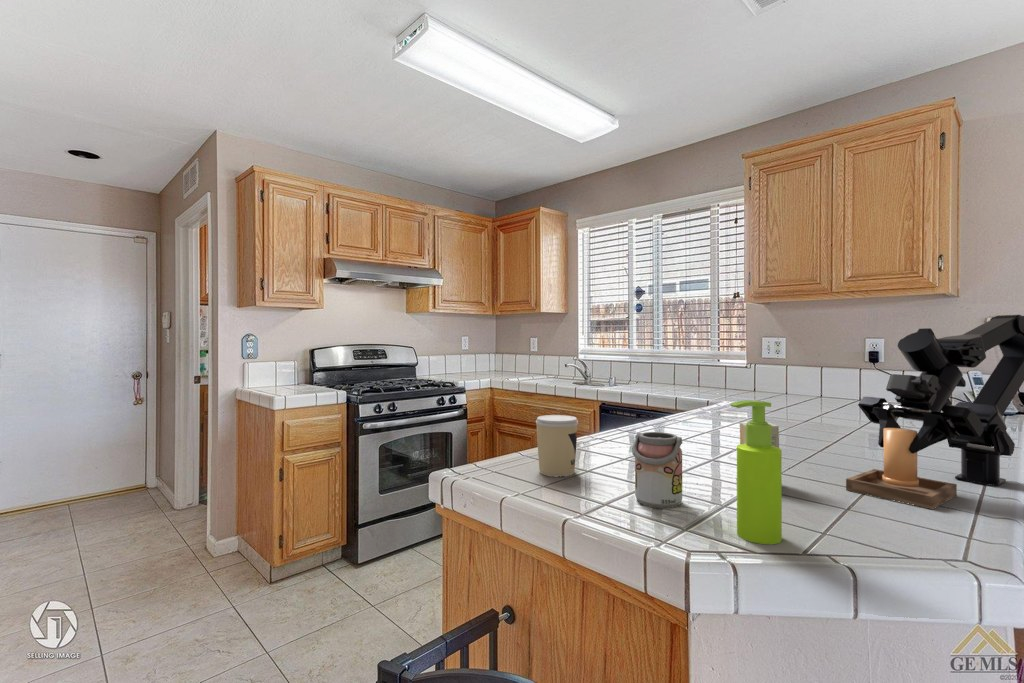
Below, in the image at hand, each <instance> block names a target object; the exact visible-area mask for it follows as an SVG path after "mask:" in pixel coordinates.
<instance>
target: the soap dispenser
mask: <svg viewBox="0 0 1024 683" xmlns="http://www.w3.org/2000/svg"><path fill="white" fill-rule="evenodd" d="M729 405H730V406H731V407H733V408H737V409H741V408H745V407H746V408H747V407H752V408H751V414H752V415H751V418H752V419H751V420H749V421H748V422H745V423H746V444H740V443H739V444H737V445H736V534H737V536H738V537H740V539H743V540H745V541H748V542H749V543H755V544H760V545H776V544H777V545H778V544H780V543H781V542H782V540H783V539H782V538H783V535H782V534H783V533H782V531H783V530H782V526H783V524H782V516H783V515H782V514H783V513H782V508H783V507H782V506H783V505H782V504H783V503H782V502H783V501H782V499H783V498H782V495H783V494H782V493H783V492H782V488H783V487H782V482H783V481H782V449H781V448H780V447H779V448H777V447H774V446H772V426H771V424H768V423H769V422H768V421H766V407H767V408H771V407H772V402H768V401H762V400H750V399H747V400H746V399H745V400H738V401H734V402H731V403H730V404H729Z"/></svg>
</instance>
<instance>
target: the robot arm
mask: <svg viewBox="0 0 1024 683" xmlns="http://www.w3.org/2000/svg"><path fill="white" fill-rule="evenodd" d="M996 346H998V347H999V348H1000V351H1001V354H1002V357H1001V358H1000V360H999V361H998V363H997V365H996V367H995V368H994V369H993V371H992V373H991V374H990V375H989V377H988V379H987V380H986V382H985V383H984V385H983V386H982V388H981V389H980V391H979V392H978V394H977V395H976V397H975V398H974V400H973V401H972V402H964V401H960V402H958V403H956V404H954V405H953V404H952V401H951V399H950V397H951V396H952V394H953V392H954V391H955V389H956V387H958V388H959V387H960V388H965V387H966V386H967V384H966V380H965V379H964V377H963V375H964V374H963V373H962V371H961V370H960V368H970V369H971V368H976V367H978V366H979V365H980V364H981V363H983V361H985V359H987V356H986V353H987V352H988V351H989V350H991V349H993V348H994V347H996ZM897 348H898V350H899V351H900V353H901V355H902V356H903V357H904V358H905V360H906V362H907V363H908V365H910V367H911V368H912V369H913V370H914V371H916V372H920V374H919V376H917V375H912V374H899V373H898V374H897V373H896V374H895V373H891V374H890V376H889V378H888V381H887V385H886V388H885V390H886V391H887V392H890V393H892V394H893V395H895V397H894V399H895V401H896V402H897V404H898V403H899V404H900V405H894V404H892V403H890V402H888V401H887V400H886V398H884V397H874V396H863V397H862V398H861V400H859V402H858V407H859V409H860V410H861V411H862V413H863V414H864V415H865V416H866V418H867V420H869V422H870V423H873V424H878V425H879V428H878V429H879V430H878V432H879V433H878V443H877V444H878V446H879V447H880V448H884V435H883V429H884V428H902V427H901V426H900V424H899V423H898V419H899V418H902V419H904V420H909V421H910V420H911V421H916V422H918V421H919V422H922V426H921V427H920V429H919V431H917V435H916V437H915V438H914V440H913V442H912V443H911V446H910V448H909V451H910V452H911V453H916V452H917V453H918V452H920V451H923V450H924V449H927V448H929V447H931V446H933V445H935V444H938V443H940V442H943V441H945V440H947V443H948V444H947V445H948V447H949V448H956V449H960V453H961V454H960V455H961V456H960V458H961V459H960V465H961V466H960V473H959V474H957V475H954V479H956V480H960V481H967V482H971V483H975V484H983V485H986V486H987V485H989V486H992V487H993V486H994V487H999V486H1001V485H1002V484H1004V483H1006V481H1007V479H1006V478H1002V477H1000V476H1001V474H1000V472H1001V470H1000V469H1001V466H1000V465H1001V463H1000V462H1001V460H1000V459H1001V457H1002V456H1005V457H1006V456H1007V457H1011V456H1012V455H1013V454H1014V451H1015V446H1016V445H1015V442H1014V440H1013V439H1012V437H1011V436H1010V434H1009V433H1008V432H1007V429H1008V428H1007V425H1006V422H1005V420H1004V417H1003V416H1004V414H1005V412H1006V411H1007V410H1008V408H1009V405H1010V404H1011V403H1012V401H1013V400H1014V397H1015V396H1016V395H1017V393H1018V391H1019V390H1020V388H1021V387H1022V386H1023V384H1024V315H1021V314H1006V315H1005V314H1004V315H1003V314H1001V315H996V316H992V317H991V318H990V319H989V320H988V321H986V322H984V323H982V324H981V325H978V326H976V327H974V328H973V329H971V330H969V331H967V332H965V333H962V334H960V335H951V336H950V335H948V336H943V337H940V338H938V337H936V335H935V333H934V331H933V329H932V327H931V328H930V327H929V328H927V327H926V328H918V330H917V332H911V333H910V334H907V335H906V336H905V337H903V338H901V339H899V341H898V343H897Z"/></svg>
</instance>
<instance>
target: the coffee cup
mask: <svg viewBox="0 0 1024 683" xmlns="http://www.w3.org/2000/svg"><path fill="white" fill-rule="evenodd" d="M535 424H536V440H537V453H538V457H537V458H538V470H539V473H540V474H541V475H543V476H546V475H547V476H546V477H552V476H556V477H555V478H561V476H565V477H569V475H570V476H572V474H573V475H574V474H575V469H576V457H577V456H576V455H577V439H578V425H579V420H578V418H577V417H576V416H573V415H564V414H550V415H549V414H546V415H540V416H539V415H538V416H537V418H536V420H535ZM558 476H560V477H558Z"/></svg>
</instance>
